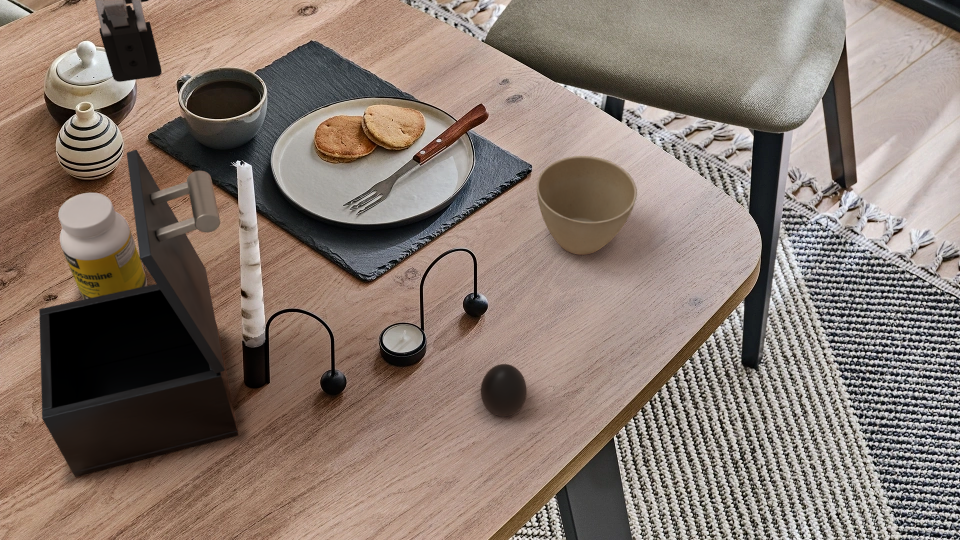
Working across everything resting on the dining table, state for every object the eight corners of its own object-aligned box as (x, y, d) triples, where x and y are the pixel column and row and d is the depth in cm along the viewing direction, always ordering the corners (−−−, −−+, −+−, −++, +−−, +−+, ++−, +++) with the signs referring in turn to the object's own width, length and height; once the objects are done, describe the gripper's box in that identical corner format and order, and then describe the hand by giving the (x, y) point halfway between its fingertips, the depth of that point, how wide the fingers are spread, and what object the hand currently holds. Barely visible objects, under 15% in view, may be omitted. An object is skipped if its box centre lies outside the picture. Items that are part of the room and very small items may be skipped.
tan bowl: (586, 193, 104) (594, 143, 99) (646, 248, 99) (657, 197, 93) (513, 228, 100) (517, 177, 95) (571, 286, 95) (578, 236, 89)
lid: (139, 258, 64) (216, 232, 65) (126, 152, 72) (195, 129, 72) (215, 374, 75) (280, 350, 76) (197, 271, 82) (256, 251, 83)
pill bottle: (70, 305, 91) (33, 224, 83) (105, 261, 95) (74, 180, 87) (127, 321, 90) (95, 240, 82) (160, 276, 94) (133, 194, 86)
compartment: (75, 478, 79) (41, 418, 72) (69, 371, 86) (38, 308, 80) (239, 436, 82) (221, 375, 75) (220, 336, 89) (202, 273, 83)
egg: (470, 404, 85) (471, 371, 81) (500, 377, 87) (502, 343, 83) (505, 430, 83) (507, 397, 79) (534, 402, 85) (538, 369, 81)
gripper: (2, -259, 60) (75, -18, 73) (-5, -142, 49) (83, 118, 62) (124, -266, 62) (175, -30, 75) (144, -155, 51) (200, 101, 64)
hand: (133, 37), depth 68 cm, fingers open, 9 cm apart
